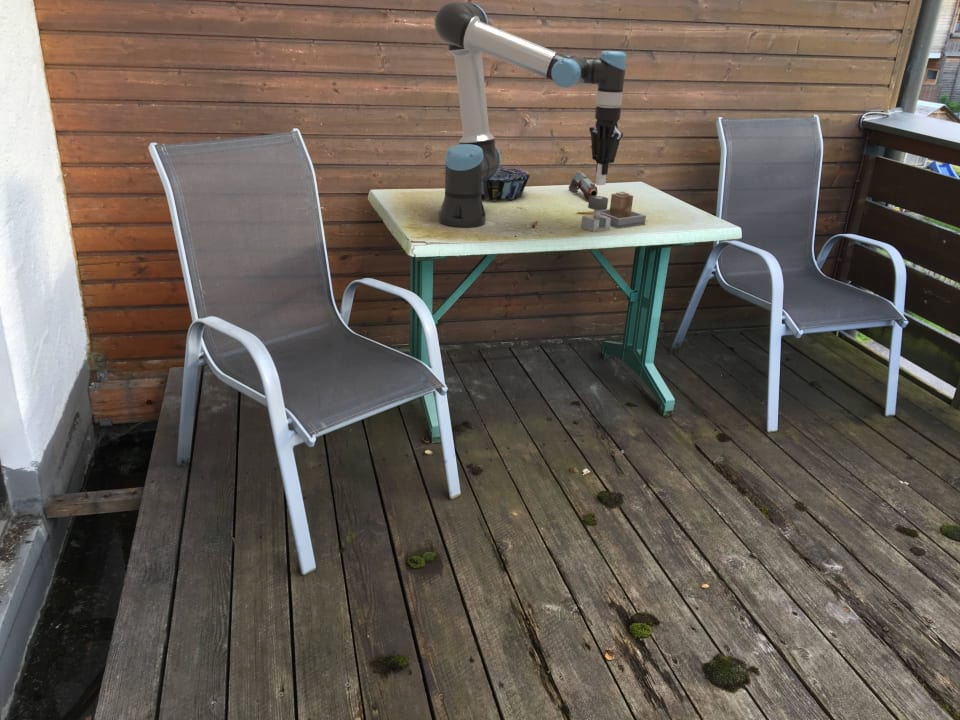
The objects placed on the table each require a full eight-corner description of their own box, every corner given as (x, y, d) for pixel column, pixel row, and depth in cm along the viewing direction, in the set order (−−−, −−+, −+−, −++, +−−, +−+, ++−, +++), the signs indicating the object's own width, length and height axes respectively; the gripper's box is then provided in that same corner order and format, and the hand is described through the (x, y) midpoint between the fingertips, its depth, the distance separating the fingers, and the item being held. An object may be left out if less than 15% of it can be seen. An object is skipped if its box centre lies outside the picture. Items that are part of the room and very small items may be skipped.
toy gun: (584, 211, 283) (589, 185, 278) (565, 189, 299) (569, 164, 293) (595, 210, 285) (600, 185, 279) (576, 189, 300) (580, 164, 294)
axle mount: (593, 232, 244) (594, 220, 243) (580, 227, 249) (582, 215, 247) (609, 229, 248) (611, 218, 246) (597, 225, 252) (598, 213, 251)
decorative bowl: (521, 211, 273) (525, 183, 268) (445, 198, 276) (448, 170, 272) (530, 195, 296) (534, 169, 291) (461, 184, 299) (463, 158, 295)
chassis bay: (617, 228, 250) (618, 219, 248) (593, 219, 259) (594, 210, 257) (644, 224, 256) (646, 215, 254) (620, 216, 265) (621, 207, 263)
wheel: (595, 220, 243) (597, 200, 240) (583, 215, 247) (585, 196, 245) (609, 218, 246) (612, 198, 243) (597, 213, 250) (599, 194, 248)
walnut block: (618, 221, 254) (622, 195, 250) (608, 217, 257) (611, 192, 254) (630, 219, 256) (633, 194, 252) (620, 216, 260) (623, 190, 256)
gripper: (632, 108, 229) (623, 187, 239) (603, 103, 239) (595, 179, 249) (613, 109, 226) (605, 189, 235) (585, 103, 235) (577, 181, 245)
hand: (600, 184), depth 242 cm, fingers closed
